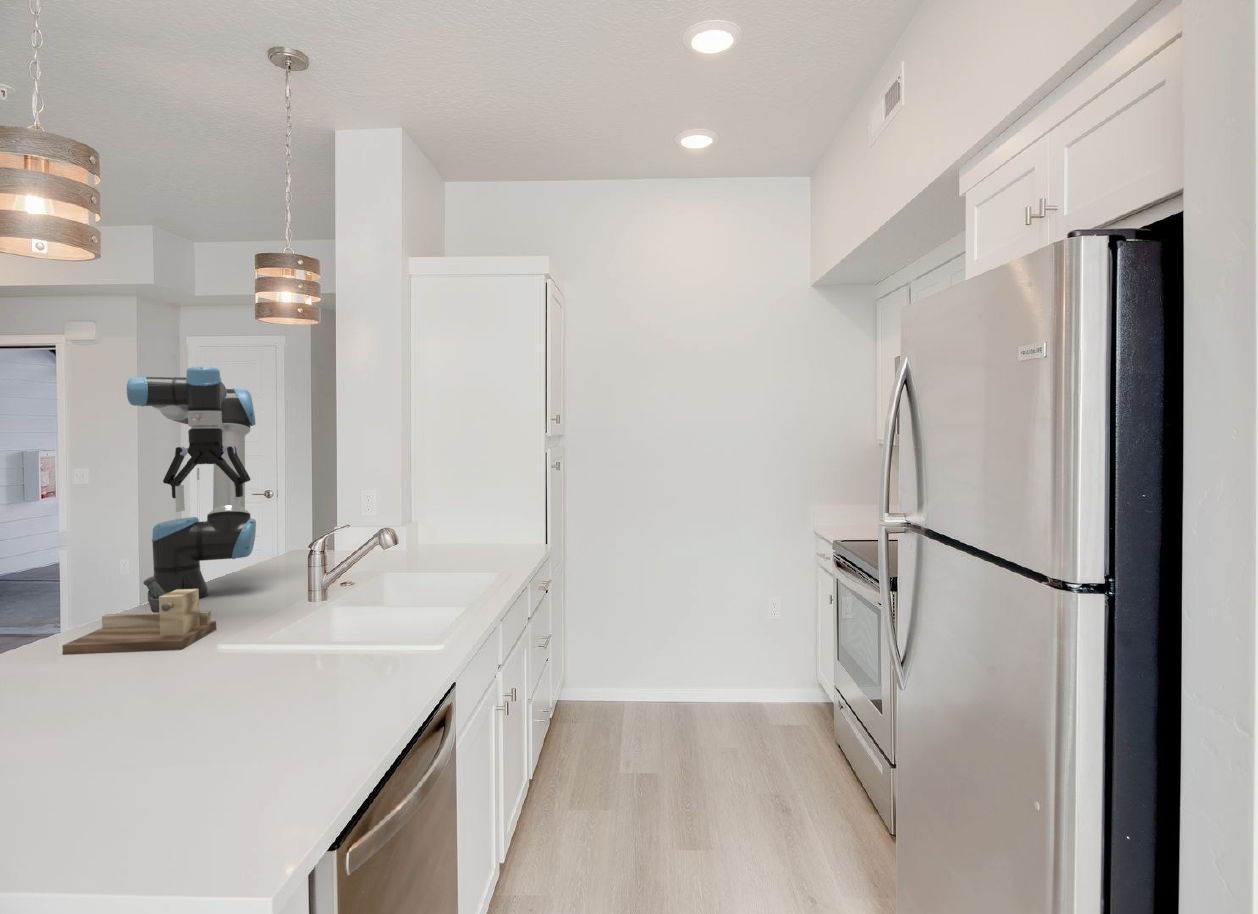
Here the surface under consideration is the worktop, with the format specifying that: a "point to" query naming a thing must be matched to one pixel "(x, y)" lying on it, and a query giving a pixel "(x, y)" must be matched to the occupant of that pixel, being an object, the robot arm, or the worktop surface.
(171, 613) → the marking gauge
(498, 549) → the worktop surface
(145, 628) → the walnut board
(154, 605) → the mortar and pestle
